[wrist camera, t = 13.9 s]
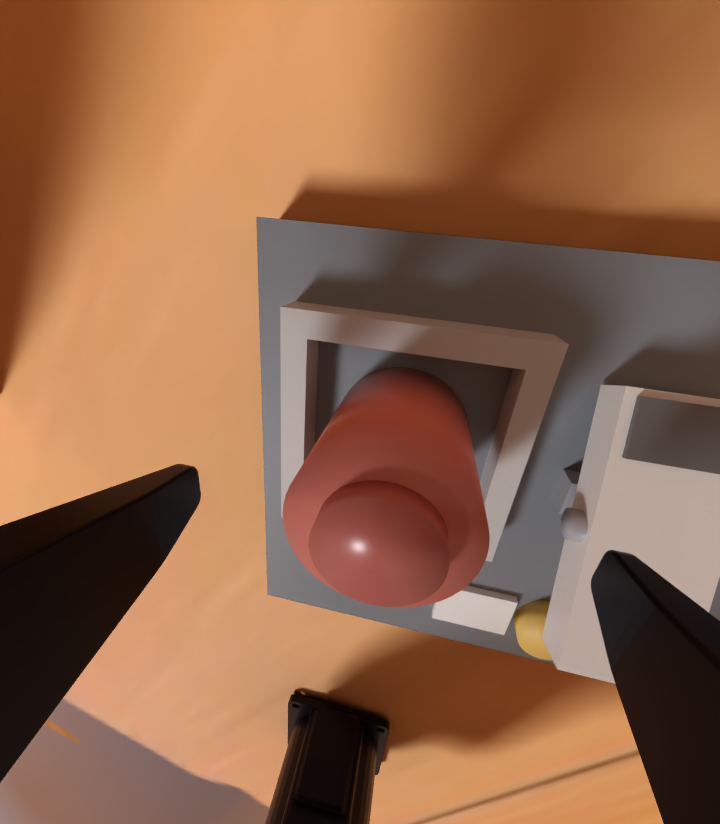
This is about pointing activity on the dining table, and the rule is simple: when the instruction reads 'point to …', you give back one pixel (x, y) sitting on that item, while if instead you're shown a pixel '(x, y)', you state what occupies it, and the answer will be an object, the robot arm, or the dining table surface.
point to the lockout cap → (391, 495)
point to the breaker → (638, 511)
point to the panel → (472, 383)
